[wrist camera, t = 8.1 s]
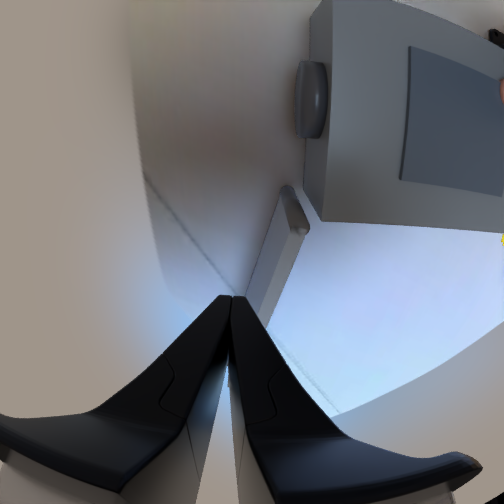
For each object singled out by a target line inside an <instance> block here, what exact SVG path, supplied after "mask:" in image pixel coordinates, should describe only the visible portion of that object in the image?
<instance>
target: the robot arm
mask: <svg viewBox="0 0 504 504" xmlns="http://www.w3.org/2000/svg"><path fill="white" fill-rule="evenodd" d="M490 42H492V43H494V44H495V45H497V46H499V47H500V48H502V49H504V34H503V33H501V32H499V31H498V30H496V29H490ZM227 362H228V373H229V388H230V403H231V416H232V430H233V443H234V454H235V466H236V477H237V485H238V498H239V504H456V501H455V498H454V494H453V491H455V490H456V489H458V488H459V487H461V486H463V485H464V484H465V483H467V482H468V481H470V480H471V479H473V478H474V477H475V476H476V475H478V474H479V473H480V472H481V471H482V469H483V467H482V466H481V464H480V463H479V462H478V461H477V460H475V459H474V458H473V457H470V456H468V455H465V454H463V453H460V452H450V453H446V454H443V455H440V456H436V457H432V458H414V457H409V456H405V455H402V454H398V453H395V452H391V451H388V450H385V449H382V448H379V447H375V446H372V445H370V444H367V443H364V442H361V441H358V440H355V439H353V438H351V437H349V436H348V435H346V434H345V433H344V432H343V431H341V430H340V429H339V428H338V427H337V426H336V425H335V424H334V423H333V421H332V420H331V419H330V418H329V417H328V416H327V415H326V414H325V412H324V411H323V410H322V409H321V408H320V407H319V406H318V404H317V403H316V402H315V401H314V400H313V399H312V398H311V396H310V395H309V394H308V393H307V392H306V390H305V389H304V388H303V387H302V385H301V384H300V383H299V381H298V380H297V378H296V377H295V375H294V374H293V372H292V371H291V369H290V368H289V366H288V365H287V364H286V361H285V360H284V358H283V357H282V355H281V353H280V352H279V350H278V349H277V347H276V345H275V344H274V342H273V341H272V339H271V337H270V336H269V334H268V332H267V331H266V329H265V328H264V326H263V324H262V323H261V321H260V319H259V318H258V316H257V314H256V313H255V311H254V309H253V308H252V306H251V305H250V303H249V301H248V300H247V298H246V297H244V296H233V298H232V296H230V295H219V296H217V298H216V299H215V300H214V301H213V302H212V303H211V304H210V305H209V306H208V307H207V308H206V309H205V310H204V311H203V312H202V313H201V314H200V315H199V316H198V317H197V318H196V319H195V320H194V321H193V322H192V323H191V324H190V325H189V326H188V327H187V328H186V329H185V330H184V331H183V333H181V335H180V336H179V337H178V338H177V339H176V340H175V341H174V342H173V343H172V344H171V345H170V346H169V347H168V348H167V349H166V350H165V351H164V352H163V354H161V355H160V356H159V357H158V358H157V359H156V360H155V361H154V362H153V363H152V364H151V365H150V366H149V367H148V368H147V369H146V370H144V371H143V372H142V373H141V374H140V375H138V376H137V377H136V378H135V379H134V380H133V381H131V382H130V383H129V384H127V385H126V386H125V387H123V388H122V389H121V390H120V391H118V392H117V393H116V394H114V395H113V396H112V397H110V398H109V399H108V400H106V401H105V402H104V403H102V404H101V405H100V406H98V407H97V408H95V409H93V410H91V411H88V412H85V413H81V414H74V415H64V416H54V417H41V418H13V417H9V416H5V415H2V414H0V460H1V461H2V462H4V463H3V465H2V468H1V470H0V504H195V503H196V499H197V494H198V490H199V486H200V481H201V477H202V472H203V468H204V463H205V459H206V455H207V451H208V446H209V442H210V438H211V433H212V428H213V424H214V420H215V416H216V411H217V407H218V402H219V398H220V394H221V389H222V385H223V381H224V376H225V372H226V367H227ZM485 504H504V492H503V493H502V494H500V495H498V496H497V497H495V498H493V499H492V500H490V501H488V502H486V503H485Z"/></svg>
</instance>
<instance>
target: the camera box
mask: <svg viewBox="0 0 504 504" xmlns="http://www.w3.org/2000/svg"><path fill="white" fill-rule="evenodd" d="M295 128H296V133H297V136H298V138H306V153H305V168H304V182H303V190H304V191H305V193H306V195H307V197H308V198H309V200H310V202H311V204H312V206H313V207H314V209H315V211H316V213H317V214H318V216H319V218H320V220H321V221H325V222H348V223H369V224H387V225H404V226H419V227H433V228H447V229H459V230H471V231H483V232H494V233H504V49H502V48H500V47H499V46H497V45H495V44H494V43H492V42H490V41H488V40H486V39H484V38H483V37H481V36H479V35H477V34H475V33H473V32H471V31H469V30H467V29H465V28H463V27H460V26H458V25H456V24H454V23H452V22H449V21H447V20H445V19H442V18H440V17H438V16H435V15H432V14H430V13H427V12H425V11H422V10H419V9H416V8H414V7H411V6H408V5H405V4H401V3H398V2H395V1H392V0H322V1H321V3H320V4H319V6H318V7H317V8H316V10H315V11H314V13H313V14H312V16H311V17H310V55H309V61H305V60H302V61H301V62H300V64H299V67H298V72H297V78H296V87H295Z"/></svg>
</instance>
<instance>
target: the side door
mask: <svg viewBox="0 0 504 504" xmlns="http://www.w3.org/2000/svg"><path fill="white" fill-rule="evenodd" d="M309 230H310V224H309V222H308V220H307V217H306V215H305V213H304V211H303V209H302V206H301V204H300V202H299V200H298V198H297V196H296V193H295V191H294V189H293V188H292V187H290V186H285V187H283V188H282V189H281V190H280V198H279V200H278V203H277V206H276V209H275V212H274V215H273V218H272V221H271V223H270V226H269V229H268V232H267V235H266V238H265V241H264V243H263V246H262V249H261V252H260V255H259V258H258V261H257V263H256V266H255V269H254V272H253V275H252V278H251V280H250V283H249V286H248V289H247V292H246V295H245V297H246V298H247V300H248V301H249V303H250V305H251V306H252V308H253V309H254V311H255V313H256V314H257V316H258V318H259V319H260V321H261V323H262V324H263V326H264V328H265V329H266V327H267V325H268V323H269V321H270V318H271V316H272V314H273V311H274V309H275V307H276V304H277V302H278V300H279V297H280V295H281V293H282V290H283V288H284V286H285V283H286V281H287V279H288V276H289V274H290V271H291V269H292V267H293V264H294V262H295V259H296V257H297V255H298V252H299V250H300V247H301V245H302V242H303V240H304V237H305V235H306V234H307V233H308V232H309ZM227 366H228V362H227ZM228 387H229V375H228Z"/></svg>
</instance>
